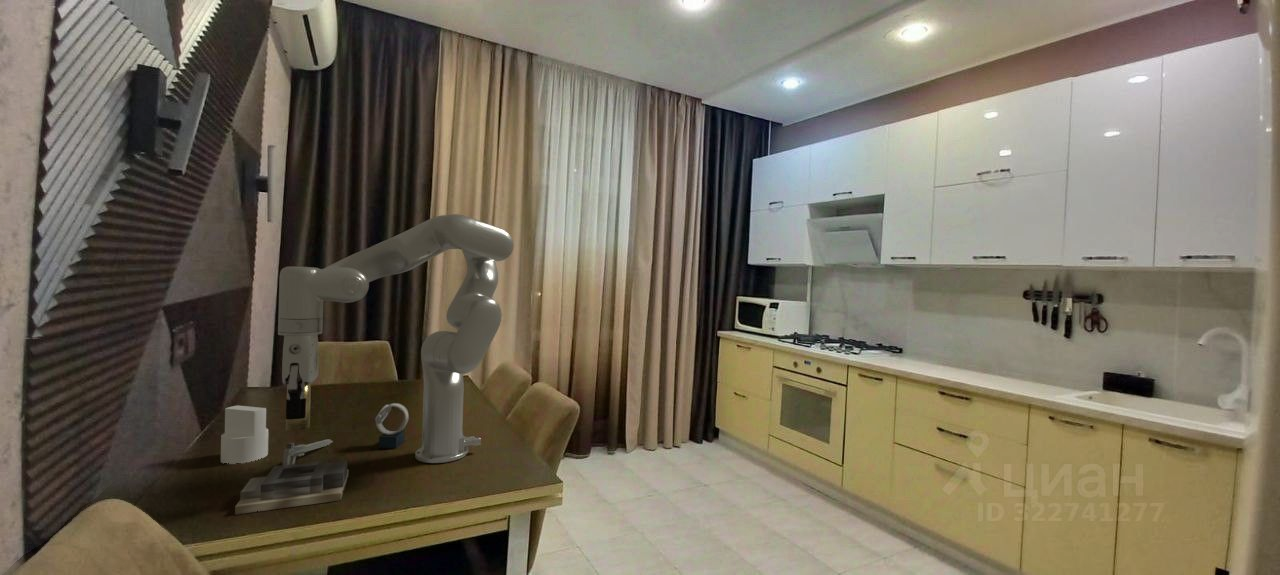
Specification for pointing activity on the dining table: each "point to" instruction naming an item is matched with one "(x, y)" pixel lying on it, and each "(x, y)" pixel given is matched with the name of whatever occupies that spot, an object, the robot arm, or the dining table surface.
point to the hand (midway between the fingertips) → (298, 414)
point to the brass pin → (305, 422)
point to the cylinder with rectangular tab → (244, 435)
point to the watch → (391, 436)
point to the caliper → (301, 450)
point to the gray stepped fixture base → (294, 486)
